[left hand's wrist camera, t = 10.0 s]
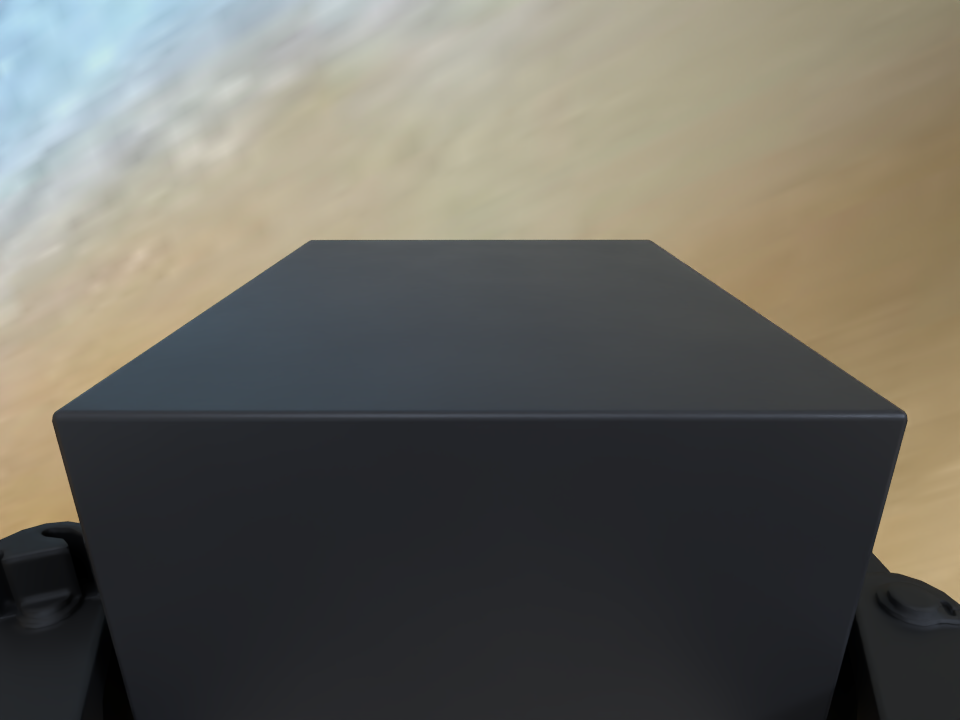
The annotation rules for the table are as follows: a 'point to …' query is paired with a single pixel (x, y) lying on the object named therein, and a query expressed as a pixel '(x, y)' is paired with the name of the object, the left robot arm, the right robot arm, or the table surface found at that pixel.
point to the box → (480, 493)
